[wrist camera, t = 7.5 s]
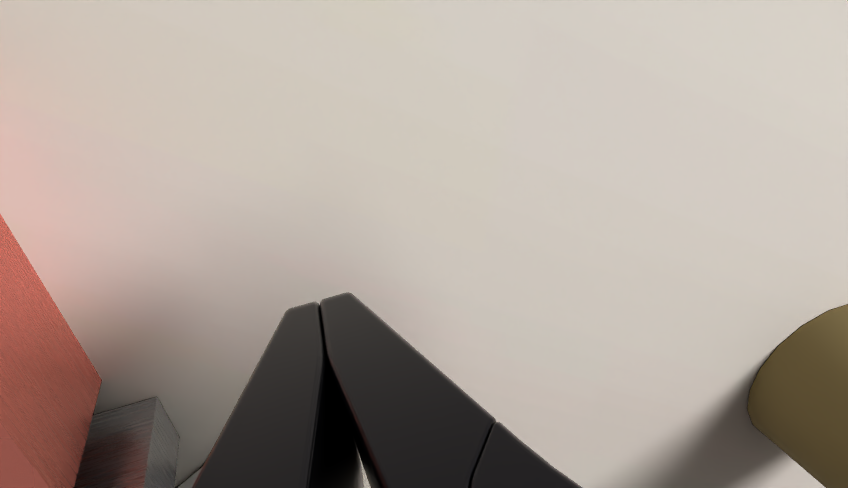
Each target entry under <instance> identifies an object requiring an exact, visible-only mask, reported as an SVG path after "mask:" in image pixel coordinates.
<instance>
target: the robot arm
mask: <svg viewBox="0 0 848 488" xmlns="http://www.w3.org/2000/svg"><path fill="white" fill-rule="evenodd" d="M359 455H360V457H359ZM360 458H361V461H362V464H363V467H364V469H365V472H366V475H367V478H368V481H369V484H370V486H371V488H582V487H581V486H579V485H578V484H577V483H575V482H574V481H572V480H571V479H569V478H568V477H567V476H565V475H564V474H562V473H561V472H560V471H558V470H557V469H555V468H554V467H553V466H551V465H550V464H549V463H548V462H546V461H545V460H544V459H543V458H542V457H540V456H539V455H538V454H537V453H535V452H534V451H533V450H532V449H530V448H529V447H528V446H527V445H525V444H524V443H523V442H522V441H521V440H519V439H518V438H517V437H516V436H515V435H514V434H513V433H511V432H510V431H509V430H508V429H507V428H506V427H505V426H503V425H502V424H501V423H500V422H496V420H495V418H494V417H493V416H491V415H490V414H489V413H488V412H487V411H486V410H485V409H483V408H482V407H481V406H480V405H479V404H478V403H477V402H475V401H474V400H473V399H472V398H471V397H470V396H469V395H467V394H466V393H465V392H464V391H463V390H462V389H461V388H459V387H458V386H457V385H456V384H455V383H454V382H453V381H451V380H450V379H449V378H448V377H447V376H446V375H445V374H443V373H442V372H441V371H440V370H439V369H438V368H436V367H435V366H434V365H433V364H432V363H431V362H430V361H428V360H427V359H426V358H425V357H424V356H423V355H422V354H420V353H419V352H418V351H417V350H416V349H415V348H414V347H412V346H411V345H410V344H409V343H408V342H407V341H406V340H404V339H403V338H402V337H401V336H400V335H399V334H398V333H396V332H395V331H394V330H393V329H392V328H391V327H390V326H388V325H387V324H386V323H385V322H384V321H383V320H381V319H380V318H379V317H378V316H377V315H376V314H375V313H373V312H372V311H371V310H370V309H369V308H368V307H367V306H365V305H364V304H363V303H362V302H361V301H360V300H359V299H357V298H356V297H355V296H354V295H353V294H351V293H343V294H340V295H336V296H333V297H329V298H326V299H323V300H322V301H321V303H320V305H319V304H318V303H316V302H312V303H308V304H304V305H301V306H297V307H294V308H290V309H288V310H287V311H286V312H285V314H284V316H283V318H282V320H281V321H280V323H279V325H278V327H277V329H276V331H275V333H274V335H273V336H272V338H271V340H270V342H269V344H268V346H267V348H266V350H265V351H264V353H263V355H262V357H261V359H260V361H259V363H258V364H257V366H256V368H255V370H254V372H253V374H252V376H251V378H250V379H249V381H248V383H247V385H246V387H245V389H244V391H243V393H242V394H241V396H240V398H239V400H238V402H237V404H236V406H235V407H234V409H233V411H232V413H231V415H230V417H229V419H228V421H227V422H226V424H225V426H224V428H223V430H222V432H221V434H220V436H219V437H218V439H217V441H216V443H215V445H214V447H213V449H212V450H211V452H210V454H209V456H208V458H207V460H206V462H205V464H204V465H203V467H202V469H201V471H200V473H199V475H198V477H197V479H196V480H195V482H194V484H193V486H192V488H364V485H363V476H362V468H361V462H360Z"/></svg>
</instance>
